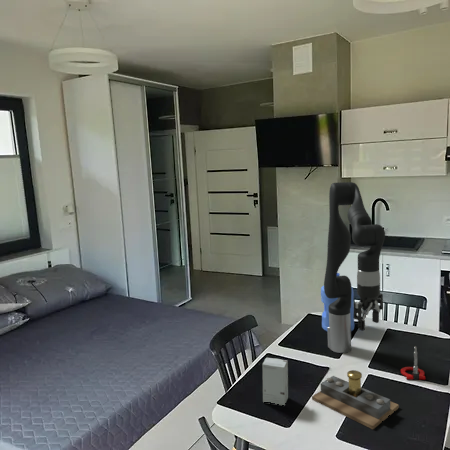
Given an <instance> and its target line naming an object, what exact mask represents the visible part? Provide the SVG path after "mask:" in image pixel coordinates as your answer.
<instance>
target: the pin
mask: <svg viewBox="0 0 450 450" xmlns="http://www.w3.org/2000/svg"><path fill="white" fill-rule="evenodd" d="M346 375H347V378H348V382H349V395H352V396H354V397H358V396H359V395H361V388H362V385H361V384H362V380H361V379H362V378H363V374H362V372H360V371H359V370H354V369H353V370H349V371H347V372H346Z"/></svg>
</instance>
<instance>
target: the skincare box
mask: <svg viewBox="0 0 450 450" xmlns="http://www.w3.org/2000/svg"><path fill="white" fill-rule="evenodd" d="M288 361H289V360H287V359H280V358H272V357H266V358H265V359H264V361H263V362H262V402H263V403H264V402H271V403H275V404H274V405H277V404H279V405H278V406H282V405H284V406H283V407H285V406H286V404H285V403H287V401H288V399H289V377H288V376H289V367H288V366H289V365H288V364H289V363H288Z"/></svg>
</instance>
